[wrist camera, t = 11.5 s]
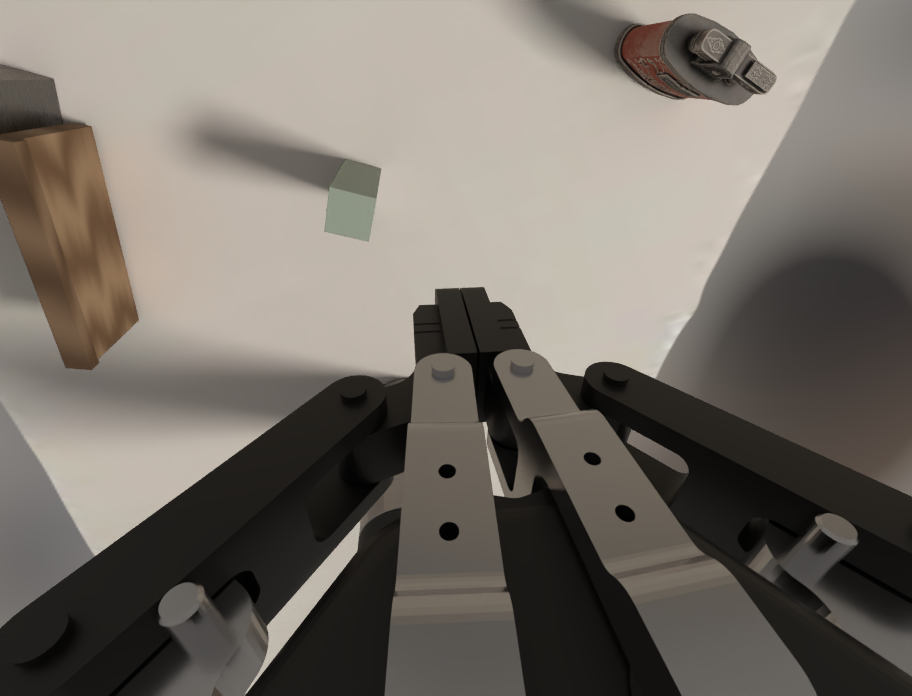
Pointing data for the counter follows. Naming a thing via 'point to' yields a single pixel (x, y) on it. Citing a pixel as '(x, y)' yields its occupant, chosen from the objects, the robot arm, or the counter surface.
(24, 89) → the hinge post
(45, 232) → the gate
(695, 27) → the lighter
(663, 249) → the counter surface
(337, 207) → the latch post
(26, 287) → the counter surface
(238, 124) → the counter surface
